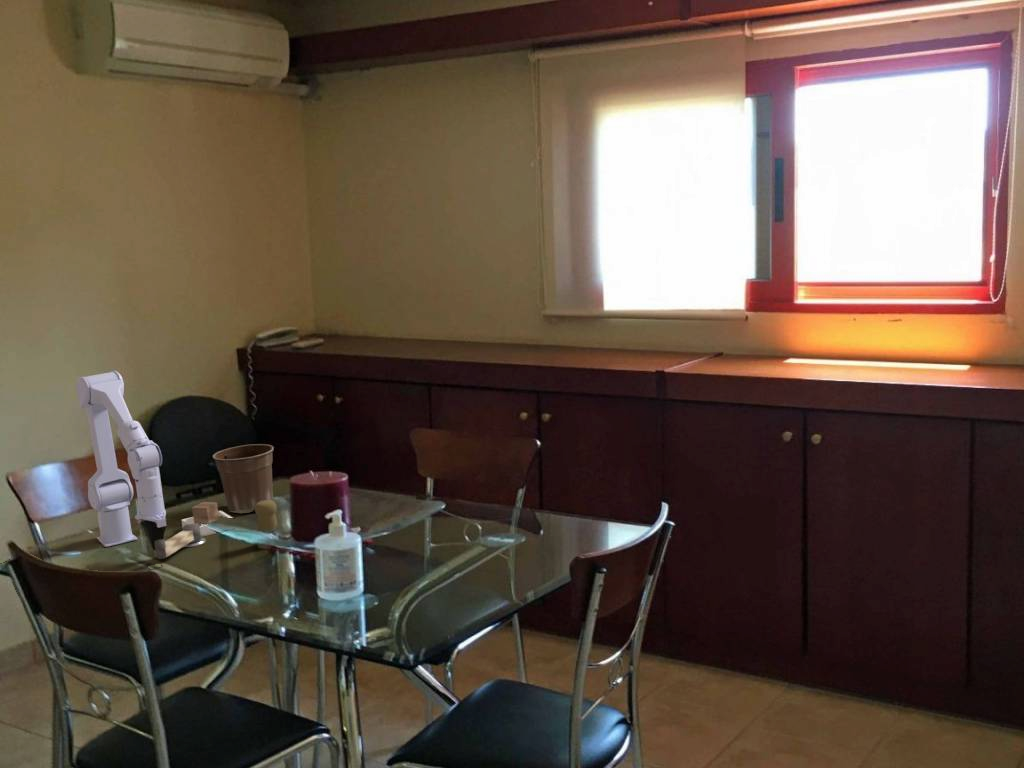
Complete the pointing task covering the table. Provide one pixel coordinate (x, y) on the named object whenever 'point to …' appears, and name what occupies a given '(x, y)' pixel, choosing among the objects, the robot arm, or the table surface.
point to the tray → (203, 529)
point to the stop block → (205, 513)
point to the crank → (177, 541)
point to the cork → (266, 516)
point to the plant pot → (246, 475)
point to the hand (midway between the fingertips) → (157, 549)
